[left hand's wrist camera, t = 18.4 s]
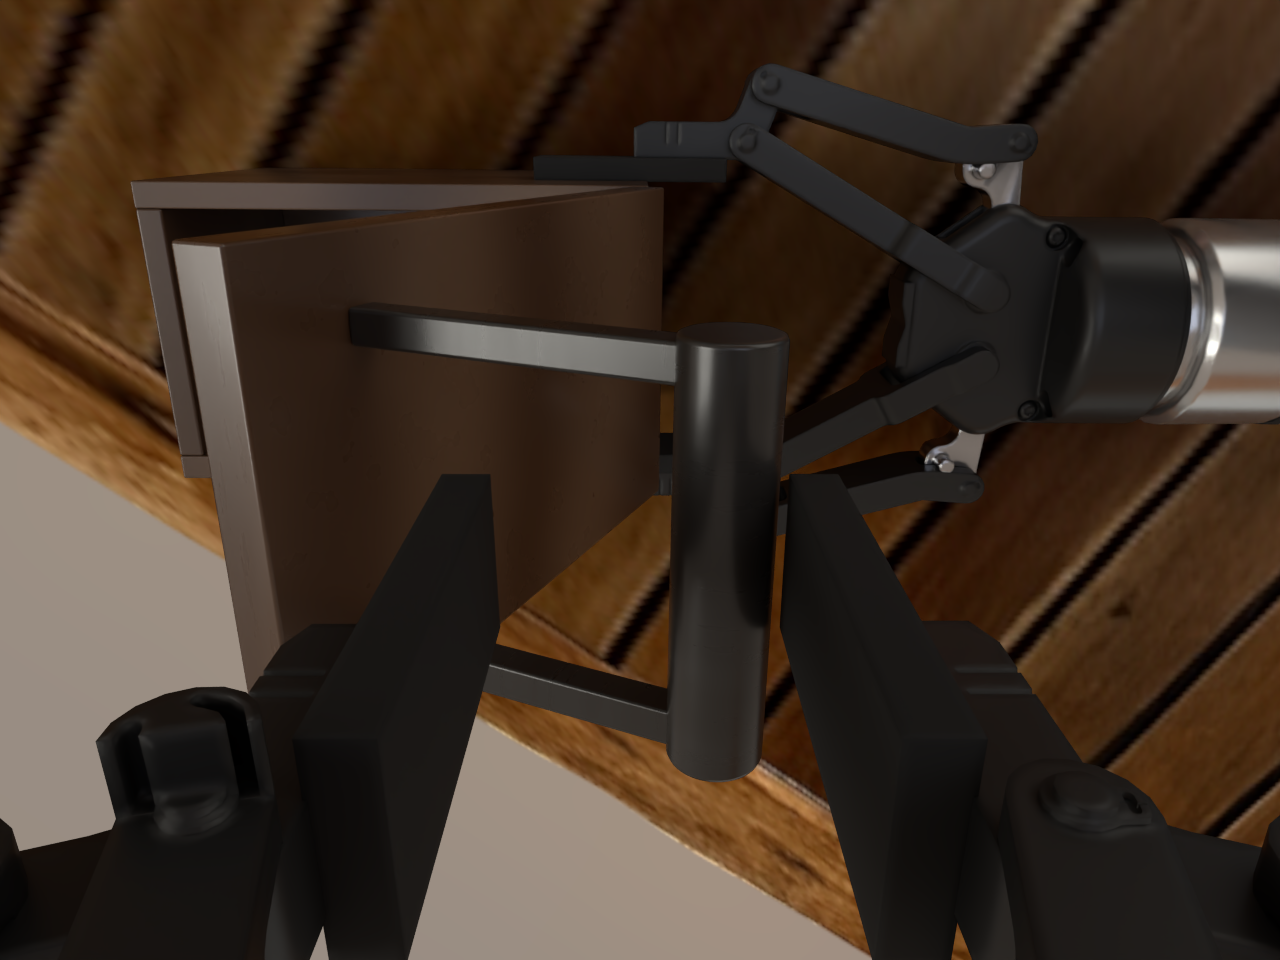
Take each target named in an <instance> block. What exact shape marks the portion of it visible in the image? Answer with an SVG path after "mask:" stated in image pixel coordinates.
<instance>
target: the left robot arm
mask: <svg viewBox="0 0 1280 960" xmlns="http://www.w3.org/2000/svg"><path fill="white" fill-rule="evenodd" d="M499 629H500V616H499V600H498V584H497V569H496V553H495V537H494V522H493V506H492V491H491V475H490V474H442V475H441V476H440V478H439V480H438V482H437V483H436V485H435V487H434V489H433V490H432V492H431V494H430V496H429V498H428V499H427V501H426V503H425V505H424V506H423V508H422V510H421V512H420V513H419V515H418V517H417V519H416V521H415V522H414V524H413V526H412V528H411V529H410V531H409V533H408V535H407V536H406V538H405V540H404V542H403V543H402V545H401V547H400V549H399V551H398V552H397V554H396V556H395V558H394V559H393V561H392V563H391V565H390V566H389V568H388V570H387V572H386V574H385V575H384V577H383V579H382V581H381V582H380V584H379V586H378V588H377V589H376V591H375V593H374V595H373V596H372V598H371V600H370V602H369V604H368V605H367V607H366V609H365V611H364V612H363V614H362V616H361V618H360V619H359V621H358V623H357V624H311V625H310V626H308V627H307V628H305V629H304V630H302V631H301V632H300V633H298V634H297V635H295V636H294V637H292V638H291V639H290V640H288V641H287V642H285V643H284V644H282V645H281V646H280V647H279V649H278V650H277V652H276V653H275V655H274V656H273V658H272V659H271V661H270V662H269V663H268V665H267V666H266V668H265V669H264V671H263V676H260V677H259V678H258V679H257V681H256V682H255V684H254V685H253V687H252V688H251V690H250V691H249V694H247V693H246V692H243V691H239V690H235V689H231V688H227V687H195V688H191V689H186V690H182V691H177V692H172V693H168V694H164V695H162V696H159V697H157V698H154V699H152V700H150V701H147V702H145V703H142V704H140V705H138V706H135V707H134V708H132V709H131V710H129V711H128V712H126V713H125V714H123V715H122V716H120V717H119V718H117V719H116V720H114V721H113V722H111V723H110V725H109V726H108V727H107V728H106V729H105V731H104V732H103V733H102V734H101V736H100V737H99V738H98V739H97V741H96V744H97V748H98V752H99V756H100V760H101V763H102V767H103V771H104V775H105V779H106V782H107V786H108V790H109V794H110V798H111V802H112V805H113V809H114V813H115V817H116V820H115V823H114V825H113V828H112V829H111V830H108V831H104V832H101V833H97V834H94V835H90V836H87V837H82V838H77V839H73V840H68V841H64V842H59V843H55V844H50V845H46V846H41V847H36V848H32V849H28V850H23V851H19V849H18V846H17V843H16V840H15V836H14V833H13V830H12V828H11V827H10V826H9V825H7V824H6V823H5V822H4V821H3V820H2V819H0V960H310V957H311V955H312V952H313V950H314V947H315V945H316V942H317V940H318V937H319V935H320V932H321V930H322V927H324V933H325V939H326V945H327V951H328V957H329V960H408V957H409V953H410V950H411V946H412V942H413V939H414V935H415V932H416V928H417V924H418V920H419V917H420V913H421V910H422V907H423V903H424V899H425V896H426V892H427V889H428V885H429V881H430V878H431V874H432V870H433V867H434V863H435V860H436V856H437V853H438V849H439V845H440V842H441V838H442V835H443V831H444V827H445V824H446V820H447V817H448V813H449V809H450V806H451V802H452V798H453V795H454V791H455V788H456V784H457V781H458V777H459V773H460V770H461V766H462V763H463V759H464V755H465V752H466V748H467V745H468V741H469V737H470V734H471V730H472V726H473V723H474V719H475V716H476V712H477V709H478V705H479V701H480V698H481V694H482V691H483V687H484V683H485V680H486V676H487V673H488V669H489V665H490V662H491V658H492V655H493V651H494V647H495V644H496V640H497V637H498V633H499ZM780 629H781V633H782V637H783V640H784V644H785V647H786V651H787V655H788V658H789V662H790V665H791V669H792V673H793V676H794V680H795V683H796V687H797V691H798V694H799V698H800V701H801V705H802V709H803V712H804V716H805V719H806V723H807V727H808V730H809V734H810V737H811V741H812V745H813V748H814V752H815V755H816V759H817V763H818V766H819V770H820V773H821V777H822V781H823V784H824V788H825V791H826V795H827V799H828V802H829V806H830V809H831V813H832V817H833V820H834V824H835V827H836V831H837V835H838V838H839V842H840V845H841V849H842V853H843V856H844V860H845V863H846V867H847V871H848V874H849V878H850V881H851V885H852V889H853V892H854V896H855V899H856V903H857V907H858V910H859V914H860V917H861V921H862V925H863V928H864V932H865V935H866V939H867V943H868V946H869V950H870V953H871V957H872V960H951V957H952V951H953V945H954V939H955V933H956V927H957V923H958V925H959V928H960V930H961V933H962V935H963V938H964V940H965V943H966V945H967V948H968V950H969V953H970V955H971V958H972V960H1280V816H1279V817H1277V818H1276V819H1275V820H1274V821H1273V822H1271V823H1270V824H1269V827H1268V830H1267V833H1266V836H1265V840H1264V843H1263V846H1262V847H1257V846H1253V845H1248V844H1243V843H1239V842H1234V841H1230V840H1225V839H1221V838H1216V837H1211V836H1207V835H1202V834H1198V833H1193V832H1189V831H1186V830H1182V829H1179V828H1176V827H1172V826H1169V825H1167V823H1166V821H1165V819H1164V817H1163V815H1162V814H1161V813H1160V811H1159V810H1158V808H1157V807H1156V805H1155V804H1154V803H1153V801H1152V800H1151V798H1150V797H1149V796H1147V795H1146V794H1145V793H1143V792H1142V791H1141V790H1139V789H1138V788H1137V787H1136V786H1134V785H1133V784H1132V783H1130V782H1129V781H1128V780H1126V779H1124V778H1122V777H1120V776H1118V775H1116V774H1114V773H1111V772H1109V771H1107V770H1105V769H1103V768H1101V767H1099V766H1095V765H1091V764H1087V763H1083V762H1082V761H1081V759H1080V758H1079V756H1078V755H1077V753H1076V752H1075V751H1074V749H1073V748H1072V746H1071V745H1070V743H1069V742H1068V740H1067V739H1066V738H1065V736H1064V735H1063V733H1062V732H1061V730H1060V729H1059V727H1058V726H1057V725H1056V723H1055V722H1054V720H1053V719H1052V717H1051V716H1050V714H1049V713H1048V712H1047V710H1046V709H1045V707H1044V706H1043V704H1042V703H1041V701H1040V700H1039V699H1038V697H1037V696H1036V694H1032V688H1031V687H1030V686H1029V684H1028V683H1027V681H1026V680H1025V678H1024V677H1023V676H1022V674H1021V673H1017V667H1016V665H1015V664H1014V663H1013V661H1012V660H1011V658H1010V657H1009V655H1008V654H1007V652H1006V651H1005V650H1004V648H1003V647H1002V645H1001V644H1000V642H998V641H997V640H995V639H994V638H992V637H991V636H989V635H988V634H987V633H985V632H984V631H982V630H981V629H979V628H978V627H976V626H975V625H973V624H972V623H971V622H969V621H921V619H920V618H919V616H918V614H917V612H916V611H915V609H914V607H913V605H912V604H911V602H910V600H909V598H908V596H907V595H906V593H905V591H904V589H903V588H902V586H901V584H900V582H899V581H898V579H897V577H896V575H895V574H894V572H893V570H892V568H891V566H890V565H889V563H888V561H887V559H886V558H885V556H884V554H883V552H882V551H881V549H880V547H879V545H878V543H877V542H876V540H875V538H874V536H873V535H872V533H871V531H870V529H869V528H868V526H867V524H866V522H865V521H864V519H863V517H862V515H861V513H860V512H859V510H858V508H857V506H856V505H855V503H854V501H853V499H852V498H851V496H850V494H849V492H848V490H847V489H846V487H845V485H844V483H843V482H842V480H841V478H840V476H839V475H838V474H790V475H789V490H788V506H787V522H786V537H785V553H784V569H783V584H782V600H781V616H780Z"/></svg>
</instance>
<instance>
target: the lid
mask: <svg viewBox="0 0 1280 960" xmlns="http://www.w3.org/2000/svg"><path fill="white" fill-rule="evenodd" d="M663 217H664V188H662V187H637V186H633V187H624V188H616V189H607V190H598V191H590V192H581V193H572V194H564V195H555V196H546V197H538V198H529V199H520V200H511V201H503V202H494V203H485V204H477V205H468V206H459V207H451V208H442V209H433V210H425V211H416V212H407V213H399V214H390V215H381V216H373V217H364V218H355V219H347V220H338V221H329V222H320V223H312V224H303V225H294V226H286V227H277V228H268V229H260V230H251V231H242V232H234V233H225V234H216V235H208V236H199V237H190V238H182V239H175V240H174V241H172V249H173V255H174V261H175V267H176V273H177V279H178V285H179V291H180V296H181V302H182V308H183V314H184V320H185V326H186V332H187V337H188V343H189V349H190V355H191V361H192V367H193V373H194V379H195V384H196V390H197V396H198V402H199V408H200V414H201V420H202V425H203V431H204V437H205V443H206V449H207V455H208V461H209V467H210V472H211V478H212V484H213V490H214V496H215V502H216V508H217V514H218V519H219V525H220V531H221V537H222V543H223V549H224V555H225V560H226V566H227V572H228V578H229V583H230V590H231V596H232V601H233V607H234V613H235V619H236V625H237V631H238V637H239V643H240V648H241V654H242V660H243V666H244V672H245V678H246V683H247V689H248V694H249V691H250V690H251V688H252V687H253V685H254V684H255V682H256V681H257V679H258V678H259V677H260V676H263V671H264V669H265V668H266V666H267V665H268V663H269V662H270V661H271V659H272V658H273V656H274V655H275V653H276V652H277V650H278V649H279V647H280V646H281V645H282V644H284V643H285V642H287V641H288V640H290V639H291V638H292V637H294V636H295V635H297V634H298V633H300V632H301V631H302V630H304V629H305V628H307V627H308V626H310V625H311V624H357V623H358V621H359V619H360V618H361V616H362V614H363V612H364V611H365V609H366V607H367V605H368V604H369V602H370V600H371V598H372V596H373V595H374V593H375V591H376V589H377V588H378V586H379V584H380V582H381V581H382V579H383V577H384V575H385V574H386V572H387V570H388V568H389V566H390V565H391V563H392V561H393V559H394V558H395V556H396V554H397V552H398V551H399V549H400V547H401V545H402V543H403V542H404V540H405V538H406V536H407V535H408V533H409V531H410V529H411V528H412V526H413V524H414V522H415V521H416V519H417V517H418V515H419V513H420V512H421V510H422V508H423V506H424V505H425V503H426V501H427V499H428V498H429V496H430V494H431V492H432V490H433V489H434V487H435V485H436V483H437V482H438V480H439V478H440V476H441V475H442V474H490V475H491V491H492V506H493V522H494V537H495V553H496V569H497V584H498V600H499V616H500V624H501V623H502V622H503V621H504V620H505V619H507V618H508V617H509V616H510V615H511V614H512V613H514V612H515V611H516V610H517V609H518V608H520V607H521V606H522V605H523V604H524V603H526V602H527V601H528V600H529V599H530V598H531V597H533V596H534V595H535V594H536V593H537V592H539V591H540V590H541V589H542V588H543V587H544V586H546V585H547V584H548V583H549V582H550V581H552V580H553V579H554V578H555V577H556V576H558V575H559V574H560V573H561V572H562V571H563V570H565V569H566V568H567V567H568V566H569V565H571V564H572V563H573V562H574V561H575V560H577V559H578V558H579V557H580V556H581V555H582V554H584V553H585V552H586V551H587V550H588V549H590V548H591V547H592V546H593V545H594V544H595V543H597V542H598V541H599V540H600V539H601V538H603V537H604V536H605V535H606V534H607V533H609V532H610V531H611V530H612V529H613V528H614V527H616V526H617V525H618V524H619V523H620V522H622V521H623V520H624V519H625V518H626V517H628V516H629V515H630V514H631V513H632V512H633V511H635V510H636V509H637V508H638V507H639V506H641V505H642V504H643V503H644V502H645V501H646V500H648V499H649V498H650V497H651V496H652V495H654V494H655V493H656V492H657V491H658V490H659V447H660V389H661V384H664V385H672V386H674V424H673V467H672V511H671V554H670V598H669V641H668V685H667V689H666V688H663V687H659V686H655V685H651V684H647V683H644V682H640V681H636V680H632V679H628V678H624V677H621V676H617V675H613V674H609V673H605V672H602V671H598V670H594V669H590V668H586V667H583V666H579V665H575V664H571V663H567V662H563V661H560V660H556V659H552V658H548V657H544V656H541V655H537V654H533V653H529V652H525V651H521V650H518V649H514V648H510V647H506V646H502V645H499V644H495V647H494V651H493V655H492V658H491V662H490V665H489V669H488V673H487V676H486V680H485V683H484V687H483V691H484V692H487V693H491V694H494V695H498V696H501V697H505V698H508V699H511V700H515V701H518V702H522V703H525V704H529V705H532V706H536V707H539V708H543V709H546V710H550V711H553V712H557V713H560V714H564V715H567V716H571V717H574V718H578V719H581V720H585V721H588V722H591V723H595V724H598V725H602V726H605V727H609V728H612V729H616V730H619V731H623V732H626V733H630V734H633V735H637V736H640V737H644V738H647V739H651V740H654V741H658V742H661V743H665V744H666V751H667V754H668V757H669V759H670V760H671V762H672V763H673V765H674V766H675V767H676V768H677V769H678V770H680V771H681V772H683V773H684V774H686V775H688V776H690V777H693V778H695V779H699V780H703V781H709V782H726V781H732V780H736V779H739V778H742V777H744V776H746V775H747V774H749V773H750V772H752V771H753V770H754V769H755V767H756V766H757V764H758V763H759V761H760V759H761V754H762V741H763V726H764V712H765V697H766V682H767V668H768V653H769V639H770V624H771V609H772V595H773V580H774V565H775V551H776V536H777V522H778V507H779V492H780V478H781V463H782V449H783V434H784V419H785V405H786V390H787V376H788V361H789V346H790V339H789V337H788V334H787V333H785V332H784V331H782V330H779V329H777V328H774V327H770V326H766V325H760V324H752V323H741V322H712V323H701V324H695V325H691V326H688V327H685V328H682V329H680V330H679V331H678V333H677V332H667V331H662V275H663Z"/></svg>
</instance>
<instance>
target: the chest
mask: <svg viewBox="0 0 1280 960" xmlns="http://www.w3.org/2000/svg"><path fill="white" fill-rule="evenodd" d="M633 186H637V187H648V182H647V181H588V180H534V170H464V169H356V168H257V169H247V170H237V171H227V172H217V173H207V174H196V175H186V176H176V177H166V178H156V179H146V180H136V181H131V187H132V192H133V198H134V203H135V207H136V208H138V209H137V211H136V212H137V217H138V223H139V228H140V234H141V239H142V245H143V250H144V256H145V261H146V267H147V272H148V278H149V283H150V289H151V294H152V300H153V305H154V311H155V316H156V322H157V327H158V333H159V338H160V344H161V349H162V355H163V360H164V366H165V371H166V377H167V382H168V388H169V393H170V399H171V404H172V410H173V415H174V421H175V426H176V432H177V437H178V443H179V448H180V454H181V455H182V456H181V461H182V466H183V472H184V477H185V478H211V472H210V467H209V461H208V455H207V449H206V443H205V437H204V431H203V425H202V420H201V414H200V408H199V402H198V396H197V390H196V384H195V379H194V373H193V367H192V361H191V355H190V349H189V343H188V337H187V332H186V326H185V320H184V314H183V308H182V302H181V296H180V291H179V285H178V279H177V273H176V267H175V261H174V255H173V249H172V241H174V240H175V239H182V238H190V237H199V236H208V235H216V234H225V233H234V232H242V231H251V230H260V229H268V228H277V227H286V226H294V225H303V224H312V223H320V222H329V221H338V220H347V219H355V218H364V217H373V216H381V215H390V214H399V213H407V212H416V211H425V210H433V209H442V208H451V207H459V206H468V205H477V204H485V203H494V202H503V201H511V200H520V199H529V198H538V197H546V196H555V195H564V194H572V193H581V192H590V191H598V190H607V189H616V188H624V187H633Z"/></svg>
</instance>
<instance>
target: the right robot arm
mask: <svg viewBox="0 0 1280 960" xmlns="http://www.w3.org/2000/svg"><path fill="white" fill-rule="evenodd" d="M777 111H778V112H781V113H784V114H787V115H790V116H793V117H796V118H799V119H803V120H806V121H809V122H812V123H815V124H818V125H821V126H825V127H828V128H831V129H834V130H837V131H840V132H843V133H846V134H850V135H853V136H856V137H859V138H862V139H865V140H868V141H872V142H875V143H878V144H881V145H884V146H887V147H890V148H893V149H897V150H900V151H903V152H906V153H909V154H912V155H915V156H918V157H922V158H925V159H929V160H933V161H940V162H949V163H955V176H956V178H957V180H958V181H959V182H960V183H961V184H963V185H966V186H970V187H974V188H975V189H977V190H978V191H979V192H980V194H981V196H982V201H983V205H981V206H979V207H978V208H976V209H975V210H973V211H972V212H971V213H969V214H968V215H966V216H965V217H963V218H962V219H960V220H959V221H957V222H956V223H954V224H953V225H951V226H950V227H948V228H947V229H945V230H944V231H942V232H941V233H939V234H938V235H936V236H935V237H934V236H933V235H931V234H930V233H928V232H926V231H925V230H923V229H922V228H920V227H918V226H917V225H915V224H913V223H911V222H909V221H907V220H906V219H904V218H903V217H901V216H899V215H898V214H896V213H895V212H893V211H892V210H890V209H888V208H887V207H885V206H884V205H882V204H880V203H879V202H877V201H876V200H874V199H873V198H871V197H869V196H868V195H866V194H865V193H863V192H862V191H860V190H858V189H857V188H855V187H854V186H852V185H851V184H849V183H847V182H846V181H844V180H843V179H841V178H840V177H838V176H836V175H835V174H833V173H832V172H830V171H829V170H827V169H825V168H824V167H822V166H821V165H819V164H817V163H816V162H814V161H813V160H811V159H810V158H808V157H806V156H805V155H803V154H802V153H800V152H799V151H797V150H795V149H794V148H792V147H791V146H789V145H788V144H786V143H784V142H783V141H781V140H780V139H778V138H777V137H775V136H773V135H772V134H770V133H769V129H770V127H771V124H772V122H773V119H774V117H775V114H776V112H777ZM1037 143H1038V138H1037V133H1036V132H1035V130H1034V128H1032V127H1031V126H1029V125H1026V124H994V125H980V126H965V125H962V124H959V123H956V122H953V121H950V120H947V119H944V118H940V117H937V116H934V115H931V114H928V113H925V112H922V111H919V110H916V109H913V108H910V107H907V106H904V105H900V104H897V103H894V102H891V101H888V100H885V99H882V98H879V97H876V96H873V95H870V94H867V93H864V92H860V91H857V90H854V89H851V88H848V87H845V86H842V85H839V84H836V83H833V82H830V81H827V80H823V79H820V78H817V77H814V76H811V75H808V74H805V73H802V72H799V71H796V70H793V69H790V68H787V67H783V66H780V65H777V64H766V65H763V66H761V67H759V68H757V69H756V70H754V71H753V72H751V73H750V74H749V75H748V77H747V79H746V81H745V86H744V89H743V91H742V94H741V97H740V99H739V102H738V105H737V107H736V109H735V111H734V112H733V114H732V115H731V116H730V117H729V118H727V119H726V120H724V121H721V122H658V121H649V122H646V123H644V124H642V125H639V126H637V127H634V156H572V155H540V156H536V157H533V163H534V180H588V181H647V182H726V172H727V160H738V161H739V162H741V163H743V164H744V165H746V166H747V167H749V168H751V169H752V170H754V171H755V172H757V173H759V174H760V175H762V176H763V177H765V178H767V179H768V180H770V181H771V182H773V183H775V184H776V185H778V186H779V187H781V188H783V189H784V190H786V191H787V192H789V193H791V194H792V195H794V196H795V197H797V198H799V199H800V200H802V201H803V202H805V203H807V204H808V205H810V206H811V207H813V208H815V209H816V210H818V211H820V212H821V213H823V214H824V215H826V216H828V217H829V218H831V219H832V220H834V221H836V222H837V223H839V224H840V225H842V226H844V227H845V228H847V229H848V230H850V231H852V232H853V233H855V234H856V235H858V236H860V237H861V238H863V239H864V240H866V241H868V242H869V243H871V244H872V245H874V246H875V247H877V248H878V249H880V250H881V251H883V252H885V253H886V254H888V255H889V256H891V257H893V258H894V259H896V260H897V261H899V262H901V264H900V265H899V267H898V269H897V270H896V273H895V274H890V283H889V292H888V296H889V302H890V309H891V318H890V321H889V324H888V326H887V329H886V332H885V334H884V340H883V350H882V356H883V357H884V358H885V359H886V362H885V363H883V364H881V365H879V366H878V367H876V368H874V369H872V370H870V371H868V372H866V373H865V374H863V375H862V376H861V377H860V379H859V380H858V381H857V382H855V383H854V384H852V385H850V386H848V387H846V388H844V389H842V390H840V391H838V392H836V393H834V394H832V395H830V396H828V397H826V398H824V399H823V400H821V401H819V402H817V403H815V404H813V405H811V406H809V407H807V408H805V409H803V410H801V411H799V412H797V413H795V414H793V415H792V416H790V417H788V418H786V419H784V434H783V449H782V463H781V477H783V476H785V475H787V474H789V473H791V472H793V471H795V470H797V469H799V468H801V467H803V466H805V465H807V464H809V463H811V462H813V461H815V460H817V459H819V458H821V457H823V456H825V455H827V454H829V453H831V452H833V451H835V450H837V449H839V448H841V447H843V446H845V445H847V444H849V443H851V442H853V441H854V440H856V439H858V438H860V437H862V436H864V435H866V434H868V433H870V432H872V431H874V430H876V429H878V428H880V427H883V426H885V425H895V424H899V423H901V422H904V421H906V420H908V419H910V418H912V417H914V416H916V415H918V414H920V413H922V412H924V411H926V410H928V409H930V408H932V409H933V410H935V411H936V412H937V413H939V414H940V415H941V416H943V417H944V418H945V419H946V420H948V421H949V422H950V423H952V427H951V429H950V431H949V432H948V433H947V434H946V435H945V436H943V437H941V438H936V439H931V440H928V441H926V442H924V443H923V445H922V447H921V448H920V451H906V452H898V453H893V454H888V455H884V456H880V457H876V458H872V459H868V460H864V461H860V462H856V463H852V464H848V465H844V466H840V467H836V468H832V469H828V470H824V471H820V472H816V473H812V474H838V475H839V476H840V478H841V480H842V482H843V483H844V485H845V487H846V489H847V490H848V492H849V494H850V496H851V498H852V499H853V501H854V503H855V505H856V506H857V508H858V510H859V512H860V513H861V515H863V514H867V513H871V512H875V511H880V510H884V509H888V508H892V507H896V506H900V505H904V504H908V503H912V502H916V501H920V500H931V501H944V502H957V503H972V502H974V501H976V500H978V499H979V498H980V497H981V496H982V494H983V491H984V483H983V481H982V479H981V478H980V477H979V476H978V475H977V474H976V470H977V466H978V461H979V457H980V452H981V448H982V444H983V439H984V435H985V434H986V433H989V432H992V431H994V430H996V429H998V428H1000V427H1002V426H1005V425H1008V424H1011V423H1016V422H1033V423H1129V422H1133V421H1135V420H1137V419H1140V420H1142V421H1143V422H1145V423H1152V424H1244V423H1255V424H1280V219H1211V218H1173V219H1167V220H1165V221H1163V222H1160V223H1158V222H1157V221H1155V220H1153V219H1149V218H1136V217H1044V216H1038V215H1036V214H1034V213H1032V212H1030V211H1029V210H1027V209H1026V208H1024V207H1023V206H1020V194H1021V181H1022V169H1023V161H1024V160H1026V159H1028V158H1029V157H1030V156H1032V154H1033V153H1034V151H1035V150H1036V147H1037ZM672 467H673V433H660V447H659V490H658V491H657V492H656V493H655V494H654V495H672ZM788 490H789V479H788V480H784V481H780V492H779V507H778V522H777V536H778V535H782V534H786V522H787V506H788Z"/></svg>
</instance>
